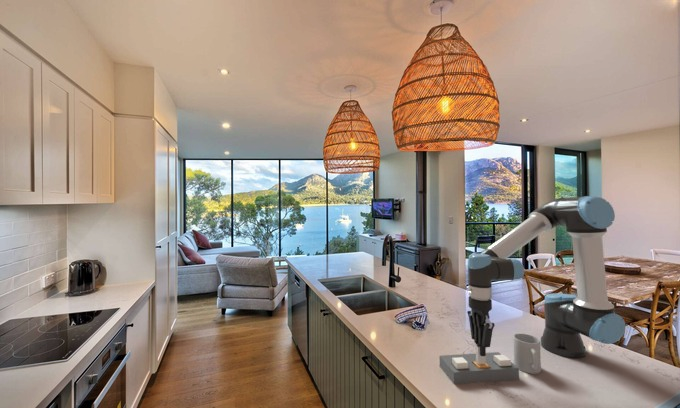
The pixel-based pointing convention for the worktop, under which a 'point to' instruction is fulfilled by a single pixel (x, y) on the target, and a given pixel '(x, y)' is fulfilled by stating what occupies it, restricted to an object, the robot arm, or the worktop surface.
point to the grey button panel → (467, 372)
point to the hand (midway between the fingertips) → (480, 363)
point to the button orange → (481, 365)
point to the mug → (527, 353)
